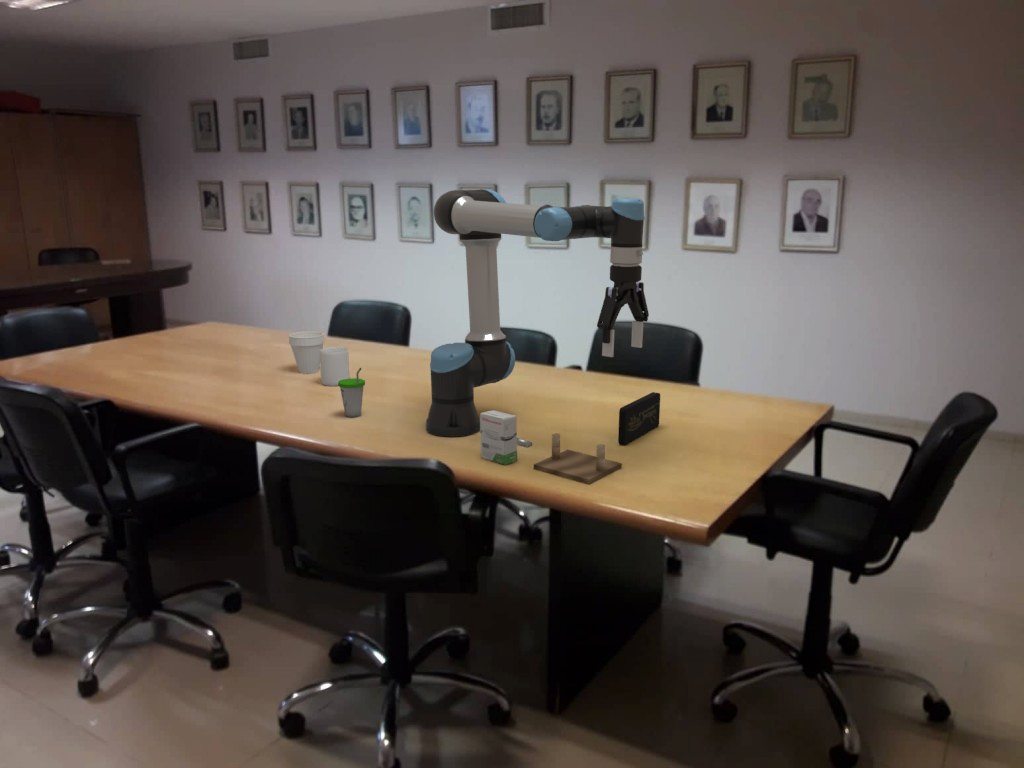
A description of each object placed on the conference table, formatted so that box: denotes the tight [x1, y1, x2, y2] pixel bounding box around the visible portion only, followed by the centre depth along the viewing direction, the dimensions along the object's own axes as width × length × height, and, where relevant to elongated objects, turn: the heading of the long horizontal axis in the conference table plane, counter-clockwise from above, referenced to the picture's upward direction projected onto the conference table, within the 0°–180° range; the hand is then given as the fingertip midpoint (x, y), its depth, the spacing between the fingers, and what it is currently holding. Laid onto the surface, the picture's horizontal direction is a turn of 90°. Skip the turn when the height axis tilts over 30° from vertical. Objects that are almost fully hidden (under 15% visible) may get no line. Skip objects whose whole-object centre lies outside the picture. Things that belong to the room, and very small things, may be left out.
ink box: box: [479, 409, 518, 466], centre depth 200 cm, size 9×5×12 cm, turn 47°
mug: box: [319, 346, 351, 387], centre depth 275 cm, size 10×12×12 cm
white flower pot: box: [288, 330, 325, 375], centre depth 291 cm, size 12×12×14 cm
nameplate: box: [617, 391, 661, 446], centre depth 219 cm, size 21×2×10 cm, turn 145°
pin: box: [517, 437, 533, 448], centre depth 214 cm, size 8×2×2 cm, turn 47°
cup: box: [337, 367, 366, 419], centre depth 237 cm, size 8×8×15 cm
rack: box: [533, 432, 623, 485], centre depth 194 cm, size 16×14×7 cm
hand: (622, 351), depth 199 cm, fingers open, 13 cm apart
